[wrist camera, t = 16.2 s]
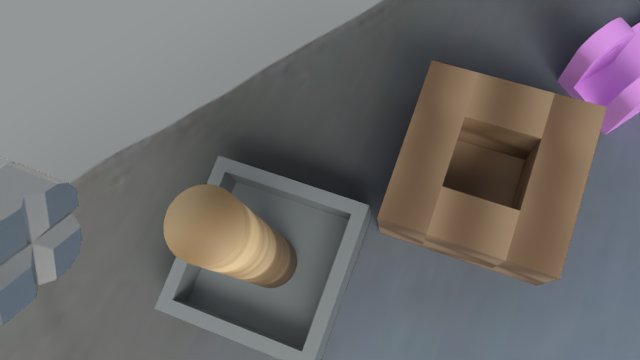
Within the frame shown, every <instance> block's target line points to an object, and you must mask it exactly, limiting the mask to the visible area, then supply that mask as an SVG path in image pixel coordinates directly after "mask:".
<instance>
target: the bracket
mask: <svg viewBox="0 0 640 360" xmlns="http://www.w3.org/2000/svg"><path fill="white" fill-rule="evenodd" d="M557 81H558V83H559V84H560V85H561V86H562V87H563V88H564V89H565V91H566V92H567V93H568V94H569V95H570V96H571V97H572V98H575V99H579V100H583V101H586V102H590V103H594V104H597V105H601V106H605V107H607V108H606V112H605V116H604V119H603V123H602V127H601V131H602V133H603V134H604V135H606V134H607V133H609V132H610V131H612V130H613V129H615V128H616V127H618V126H619V125H621V124H622V123H624V122H625V121H627V120H628V119H630V118H631V117H633V116H634V115H636V114H637V113H639V112H640V22H639V23H638V24H636V25H635V26H633V27H632V28H631V27H630V26H629V25H628V24H627V23H626V22H625V21H624V20H623V19H622V18H621V17H619V18H617V19H615V20H613V21H611V22H609V23H608V24H606V25H605V26H604V27H602V28H601V29H599V30H598V31H597V32H596V33H594V34H593V35H592V36H591V37H590V38H589V39H588V40H587V41H586V42H584V43H583V45H582V46H581V47H580V48H579V49H578V50H577V52H576V53H575V55H574V56H573V58H572V59H571V61H570V62H569V64H568V65H567V67H566V68H565V70H564V71H563V73H562V74H561V76H560V77H559V79H558V80H557Z"/></svg>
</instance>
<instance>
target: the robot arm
mask: <svg viewBox="0 0 640 360" xmlns="http://www.w3.org/2000/svg"><path fill="white" fill-rule="evenodd" d="M78 206H79V204H78V198H77V191H76V188H75V187H73V186H72V185H70V184H69V183H67V182H65V181H62V180H60V179H57V178H54V177H52V176H50V175H47V174H45V173H42V172H40V171H37V170H35V169H32V168H29V167H27V166H24V165H22V164H19V163H18V164H17V163H15V162H12V161H10V160H7V159H5V158H2V157H0V324H1V325H4V324H5V323H7V322H8V321H9V320H10V319H11V318H13V317H14V316H15V315H16V314H17V313H18V312H20V311H21V310H22V309H23V308H24V307H25V306H27V305H28V304H29V303H30V302H31V301H32V300H34V299H35V298H36V296H37V291H38V286H39V285H40V284H44V283H47V282H50V281H54V280H57V279H58V278H59V277H60V276H61V275H63V274H64V273H65V272H66V271H67V270H68V269H69V268H70V267H71V265H72V263H73V262H74V260H75V258H76V257H77V255H78V253H79V250H80V246H81V241H82V235H81V227H80V225H79V223H78V222H77V220H76V219H75V217H74V216H73V214H72V212H73V211H74V210H75V209H76V208H77V207H78Z"/></svg>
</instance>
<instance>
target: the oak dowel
mask: <svg viewBox="0 0 640 360" xmlns="http://www.w3.org/2000/svg"><path fill="white" fill-rule="evenodd" d="M164 237H165V240H166V243H167V245H168V247H169V249H170V250H171V251H172V253H173V254H174V255H175V256H176V257H178V258H179V259H180V260H182V261H184V262H186V263H189V264H192V265H195V266H199V267H202V268H205V269H208V270H211V271H214V272H218V273H221V274H224V275H227V276H230V277H233V278H236V279H240V280H243V281H246V282H249V283H252V284H255V285H259V286H262V287H265V288H276V287H279V286H282V285H284V284H285V283H287V282H288V281H289V280H290V279H291V277H292V276H293V274H294V273H295V270H296V267H297V255H296V252H295V249H294V247H293V246H292V245H291V243H290V242H289V241H287V240H286V239H285V238H284V237H283V236H281V235H280V234H279V233H278V232H277V231H275V230H274V229H273V228H272V227H271V226H269V225H268V224H267V223H266V222H265V221H263V220H262V219H261V218H260V217H259V216H257V215H256V214H255V213H254V212H253V211H251V210H250V209H249V208H248V207H247V206H245V205H244V204H243V203H242V202H241V201H239V200H238V199H237V198H236V197H235V196H233V195H232V194H231V193H230V192H228V191H227V190H225V189H224V188H222V187H219V186H216V185H211V184H202V185H196V186H193V187H190V188H188V189H186V190H185V191H183V192H182V193H180V194H179V195H178V196H177V197H176V198H175V199H174V200H173V201H172V203H171V204H170V206H169V208H168V210H167V212H166V215H165V219H164Z"/></svg>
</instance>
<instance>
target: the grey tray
mask: <svg viewBox="0 0 640 360" xmlns="http://www.w3.org/2000/svg"><path fill="white" fill-rule="evenodd" d="M207 184H211V185H216V186H219V187H222V188H224V189H225V190H227V191H228V192H230V193H231V194H232V195H233V196H235V197H236V198H237V199H238V200H239V201H241V202H242V203H243V204H244V205H245V206H247V207H248V208H249V209H250V210H251V211H253V212H254V213H255V214H256V215H257V216H259V217H260V218H261V219H262V220H263V221H265V222H266V223H267V224H268V225H269V226H271V227H272V228H273V229H274V230H275V231H277V232H278V233H279V234H280V235H281V236H283V237H284V238H285V239H286V240H287V241H289V242H290V243H291V245H292V246H293V247H294V249H295V252H296V255H297V267H296V270H295V273H294V274H293V276H292V277H291V279H290V280H289V281H288V282H287V283H285V284H284V285H282V286H279V287H276V288H265V287H262V286H259V285H255V284H252V283H249V282H246V281H243V280H240V279H236V278H233V277H230V276H227V275H224V274H221V273H218V272H214V271H211V270H208V269H205V268H202V267H199V266H195V265H192V264H189V263H186V262H184V261H182V260H180V259H179V258H178V257H176V258H175V261H174V263H173V265H172V268H171V270H170V273H169V275H168V277H167V280H166V282H165V285H164V287H163V289H162V292H161V294H160V297H159V299H158V301H157V304H156V306H155V309H157V310H159V311H162V312H164V313H167V314H169V315H172V316H174V317H177V318H179V319H182V320H184V321H186V322H189V323H191V324H194V325H196V326H199V327H201V328H204V329H206V330H209V331H211V332H214V333H216V334H219V335H221V336H223V337H226V338H228V339H231V340H233V341H236V342H238V343H241V344H243V345H246V346H248V347H251V348H253V349H256V350H258V351H261V352H263V353H265V354H268V355H270V356H273V357H275V358H278V359H280V360H321V359H322V356H323V353H324V350H325V348H326V345H327V342H328V339H329V336H330V333H331V330H332V328H333V325H334V322H335V319H336V316H337V313H338V310H339V308H340V305H341V302H342V299H343V296H344V293H345V290H346V288H347V285H348V282H349V279H350V276H351V273H352V270H353V267H354V265H355V262H356V259H357V256H358V253H359V250H360V247H361V245H362V242H363V239H364V236H365V233H366V230H367V227H368V225H369V222H370V219H371V211H370V207H369V205H367V204H364V203H361V202H358V201H355V200H352V199H349V198H346V197H343V196H340V195H337V194H334V193H331V192H328V191H325V190H322V189H319V188H316V187H313V186H310V185H307V184H304V183H301V182H298V181H295V180H292V179H288V178H285V177H282V176H279V175H276V174H273V173H270V172H267V171H264V170H261V169H258V168H255V167H252V166H249V165H246V164H243V163H240V162H237V161H234V160H231V159H228V158H225V157H222V156H219V155H218V158H217V160H216V162H215V165H214V167H213V170H212V172H211V174H210V177H209V179H208V182H207Z"/></svg>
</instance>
